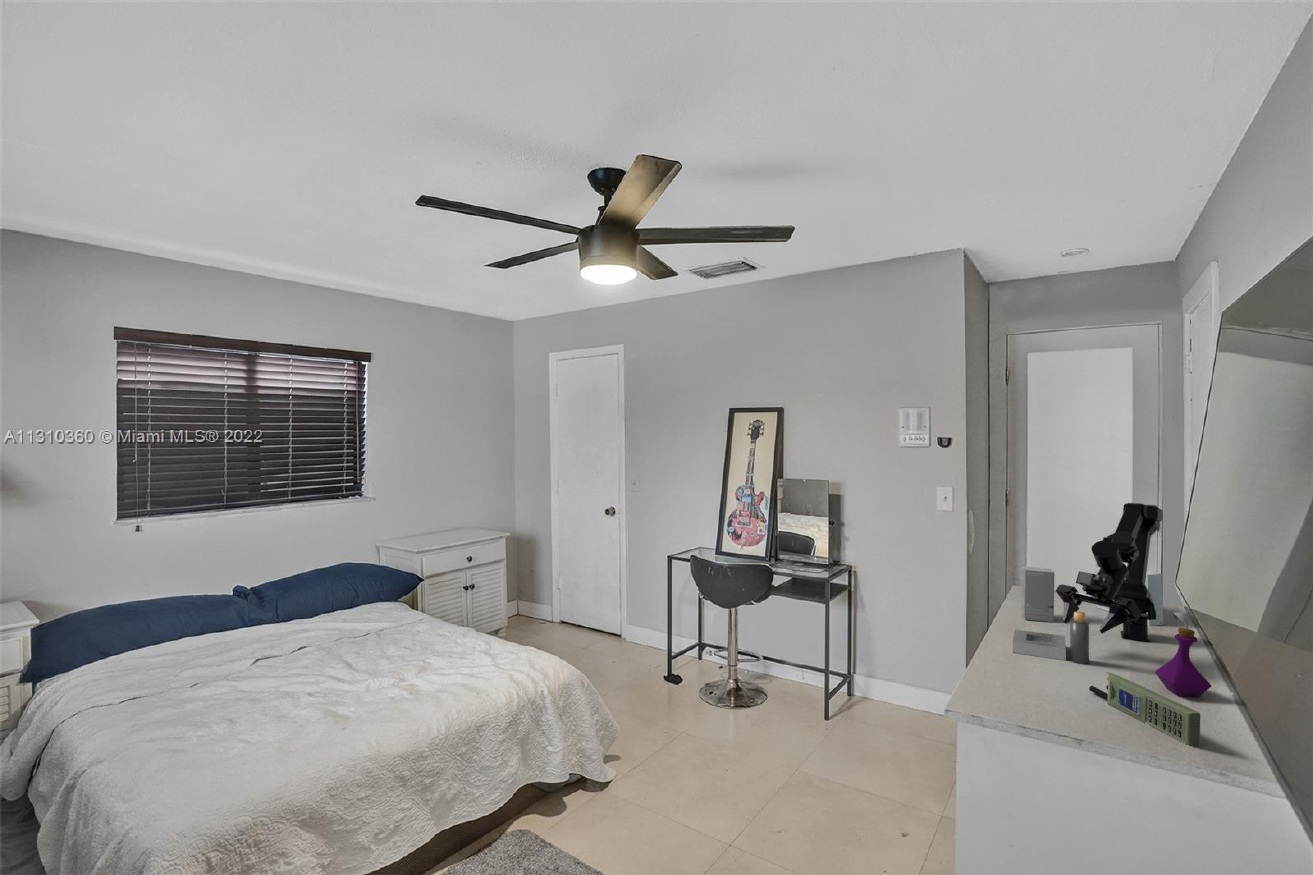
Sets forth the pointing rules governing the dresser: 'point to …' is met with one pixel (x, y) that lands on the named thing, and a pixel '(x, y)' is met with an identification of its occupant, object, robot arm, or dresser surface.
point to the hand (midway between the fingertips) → (1082, 627)
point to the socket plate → (1039, 644)
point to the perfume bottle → (1183, 666)
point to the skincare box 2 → (1155, 590)
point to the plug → (1079, 639)
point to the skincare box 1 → (1038, 594)
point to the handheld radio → (1152, 709)
